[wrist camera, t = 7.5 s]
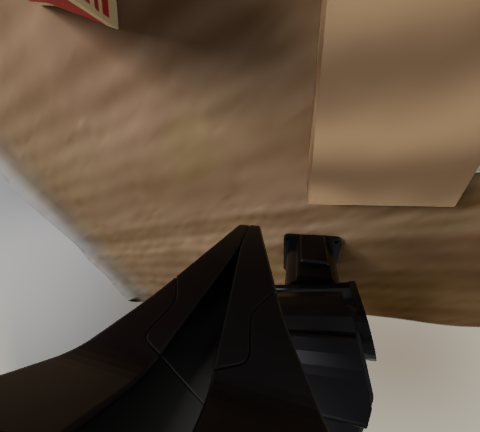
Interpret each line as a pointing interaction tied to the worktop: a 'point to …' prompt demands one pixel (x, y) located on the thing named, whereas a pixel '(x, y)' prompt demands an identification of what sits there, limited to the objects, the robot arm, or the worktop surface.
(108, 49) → the worktop surface
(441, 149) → the brown wooden block
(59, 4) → the milk carton
